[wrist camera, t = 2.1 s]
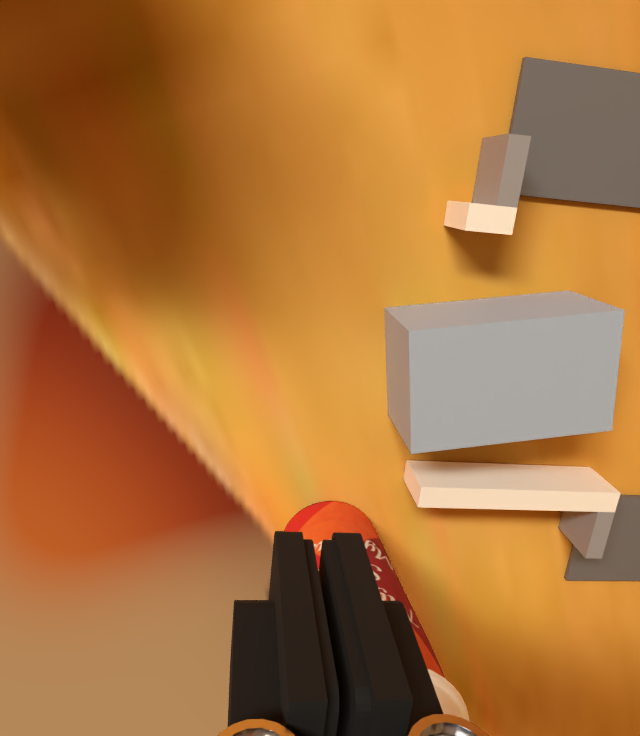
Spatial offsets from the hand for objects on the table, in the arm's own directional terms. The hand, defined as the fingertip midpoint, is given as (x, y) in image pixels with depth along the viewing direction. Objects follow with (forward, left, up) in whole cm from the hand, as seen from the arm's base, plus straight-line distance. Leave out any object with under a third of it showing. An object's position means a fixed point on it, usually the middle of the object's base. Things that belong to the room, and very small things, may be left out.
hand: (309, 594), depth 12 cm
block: (0, +11, -19) cm, 22 cm away
